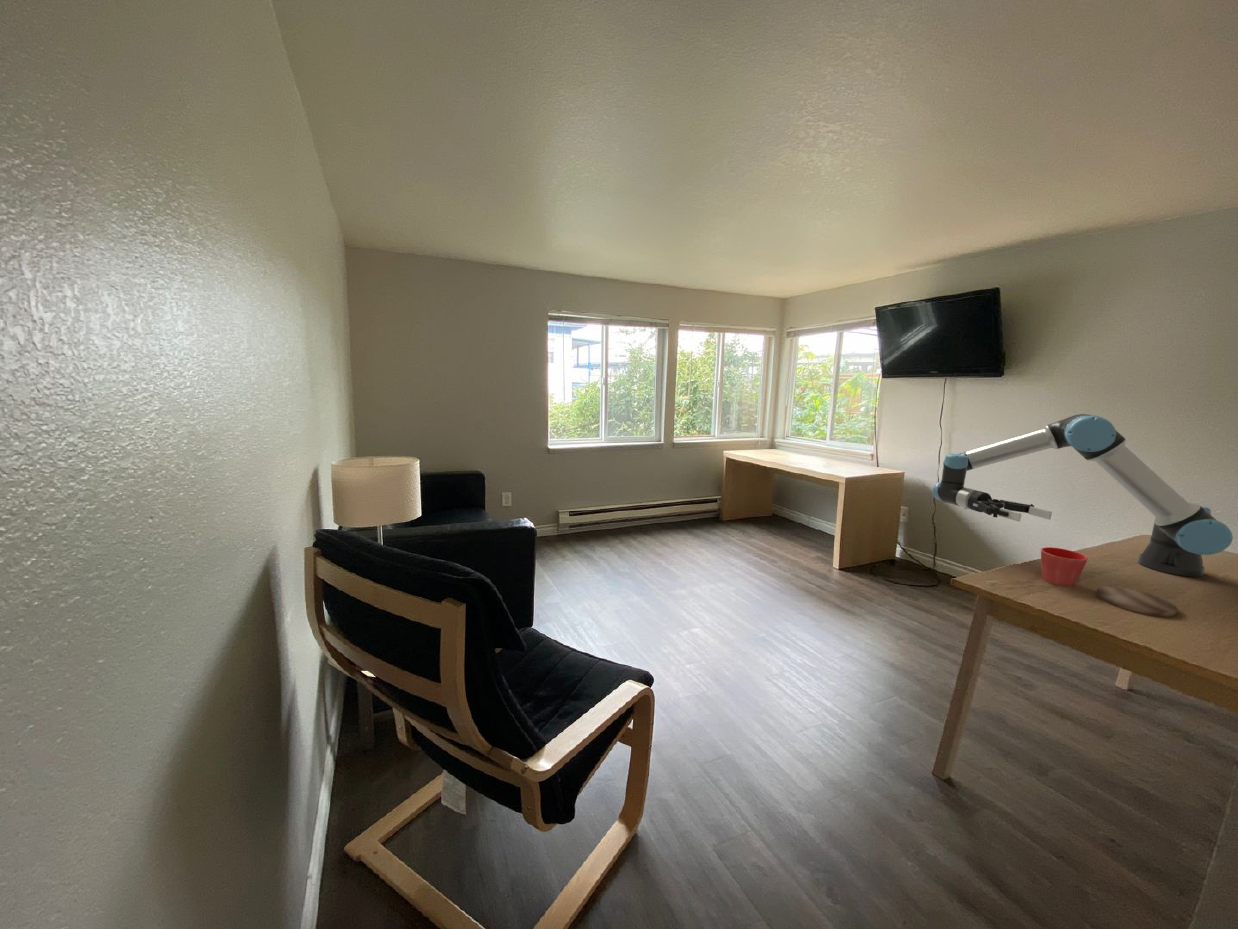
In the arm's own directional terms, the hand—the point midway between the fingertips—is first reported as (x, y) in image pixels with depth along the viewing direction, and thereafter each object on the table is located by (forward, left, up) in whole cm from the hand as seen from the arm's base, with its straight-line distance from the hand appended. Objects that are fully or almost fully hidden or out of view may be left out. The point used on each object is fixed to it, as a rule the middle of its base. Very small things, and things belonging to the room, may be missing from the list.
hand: (1035, 516), depth 159 cm
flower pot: (-4, +9, -19) cm, 21 cm away
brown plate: (-15, +22, -19) cm, 32 cm away
